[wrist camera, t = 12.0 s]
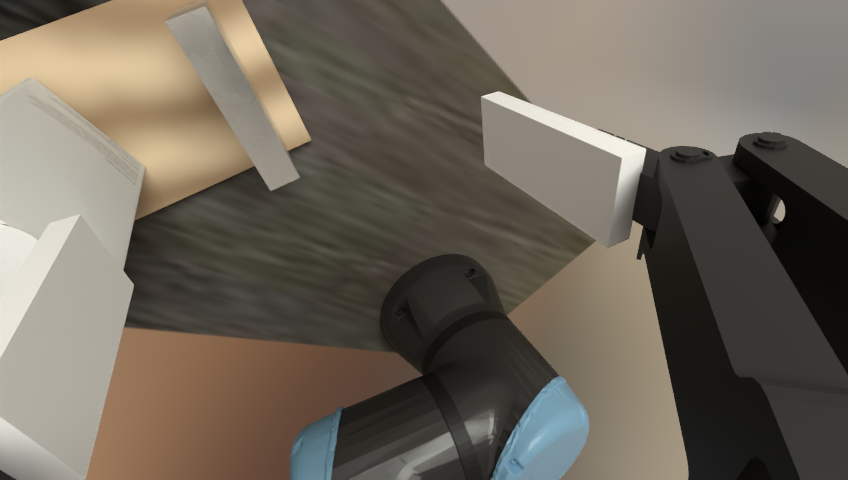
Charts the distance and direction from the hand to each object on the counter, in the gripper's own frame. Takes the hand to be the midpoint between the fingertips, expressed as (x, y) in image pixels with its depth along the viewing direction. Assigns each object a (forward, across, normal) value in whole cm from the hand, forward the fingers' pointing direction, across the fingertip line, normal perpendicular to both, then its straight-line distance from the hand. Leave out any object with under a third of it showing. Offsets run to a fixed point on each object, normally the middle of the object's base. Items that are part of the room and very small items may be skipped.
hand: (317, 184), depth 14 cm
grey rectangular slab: (+21, +2, 0) cm, 21 cm away
